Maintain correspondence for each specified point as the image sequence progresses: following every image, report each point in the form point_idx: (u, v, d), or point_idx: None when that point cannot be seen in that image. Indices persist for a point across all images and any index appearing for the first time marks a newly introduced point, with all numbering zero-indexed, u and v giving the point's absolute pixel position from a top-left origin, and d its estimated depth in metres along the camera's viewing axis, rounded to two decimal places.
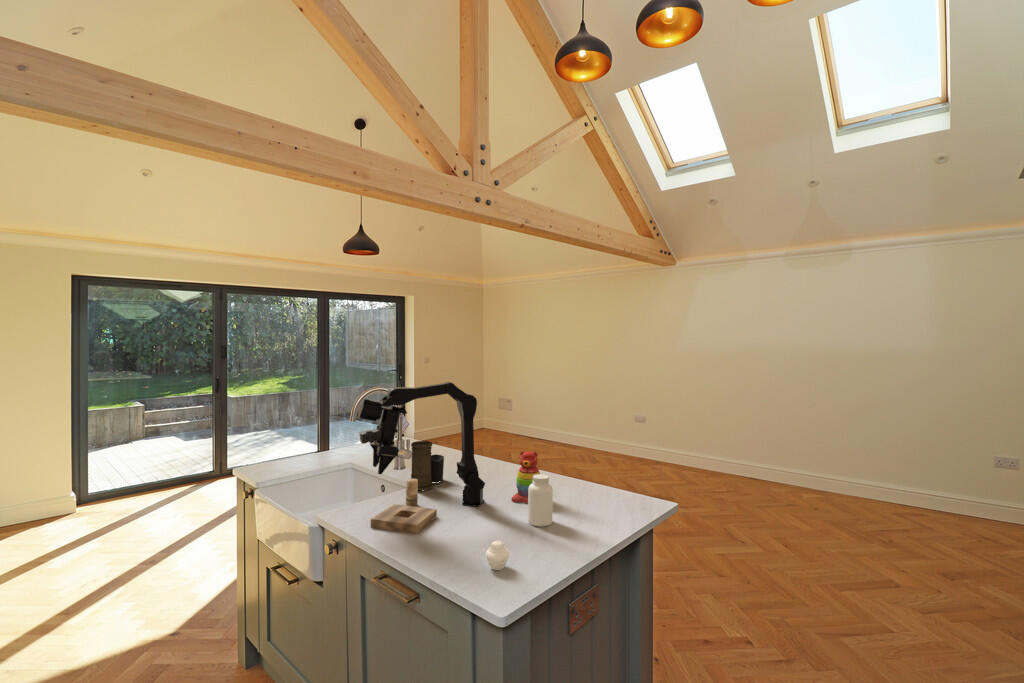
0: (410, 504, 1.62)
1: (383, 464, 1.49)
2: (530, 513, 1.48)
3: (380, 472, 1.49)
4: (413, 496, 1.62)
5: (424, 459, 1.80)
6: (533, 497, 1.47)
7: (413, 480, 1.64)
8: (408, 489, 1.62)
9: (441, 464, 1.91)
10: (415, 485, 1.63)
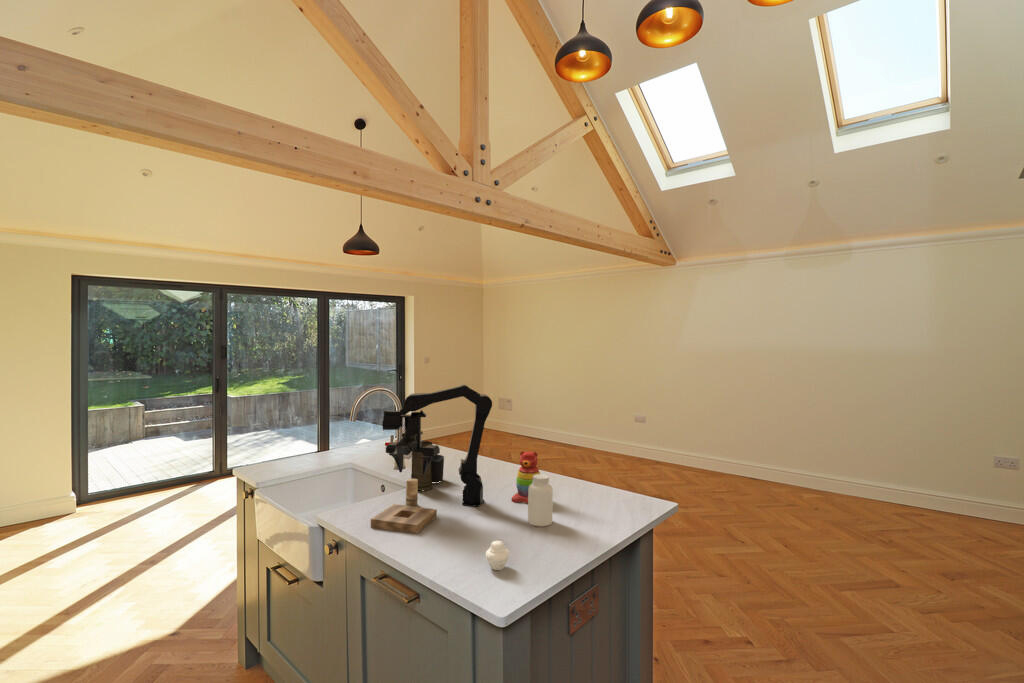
0: (410, 504, 1.62)
1: (427, 464, 1.62)
2: (530, 513, 1.48)
3: (425, 472, 1.63)
4: (413, 496, 1.62)
5: None
6: (533, 497, 1.47)
7: (413, 480, 1.64)
8: (408, 489, 1.62)
9: (441, 464, 1.91)
10: (415, 485, 1.63)
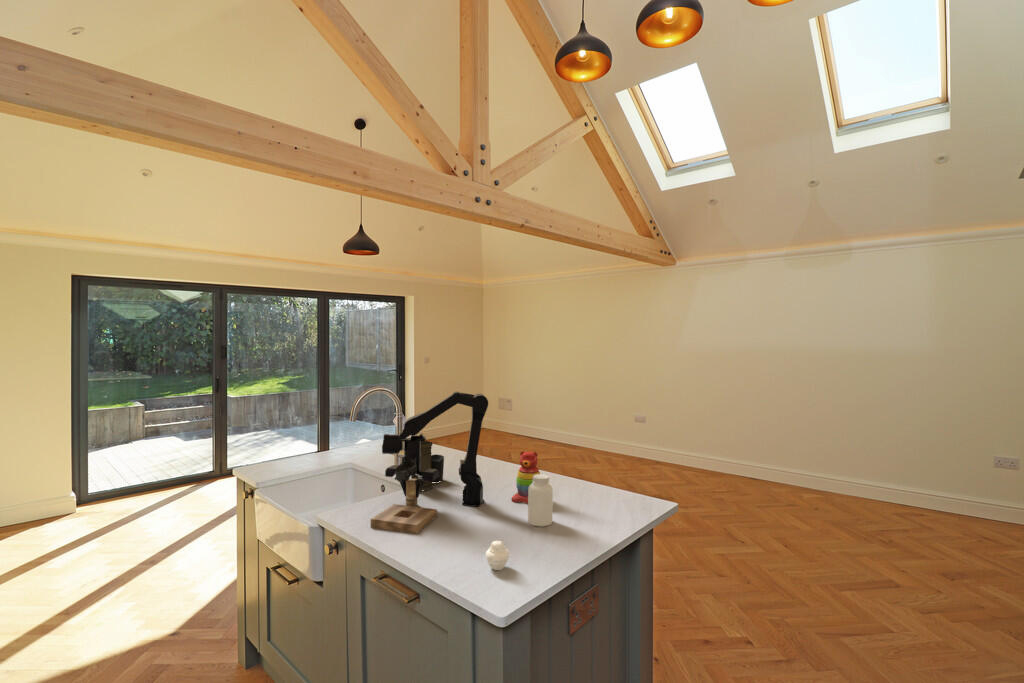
0: (410, 504, 1.62)
1: (420, 488, 1.63)
2: (530, 513, 1.48)
3: (418, 495, 1.63)
4: (413, 496, 1.62)
5: (424, 459, 1.80)
6: (533, 497, 1.47)
7: (413, 480, 1.64)
8: (408, 489, 1.62)
9: (441, 464, 1.91)
10: (415, 485, 1.63)
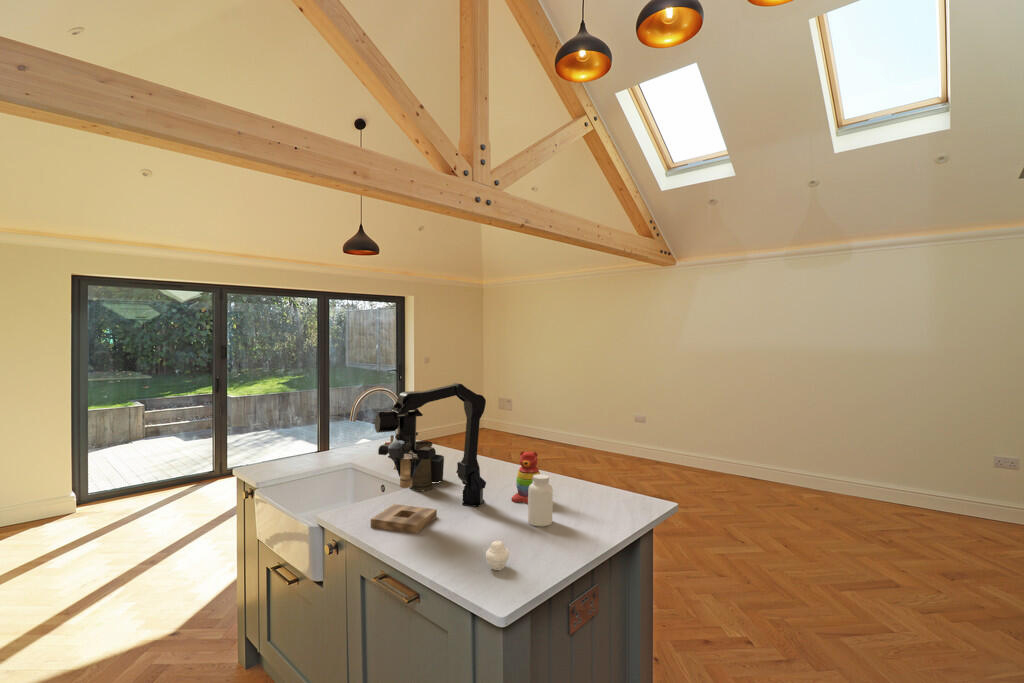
0: (404, 484, 1.51)
1: (415, 467, 1.52)
2: (530, 513, 1.48)
3: (413, 475, 1.53)
4: (408, 475, 1.52)
5: (424, 459, 1.80)
6: (533, 497, 1.47)
7: (407, 458, 1.53)
8: (402, 468, 1.52)
9: (441, 464, 1.91)
10: (410, 464, 1.52)
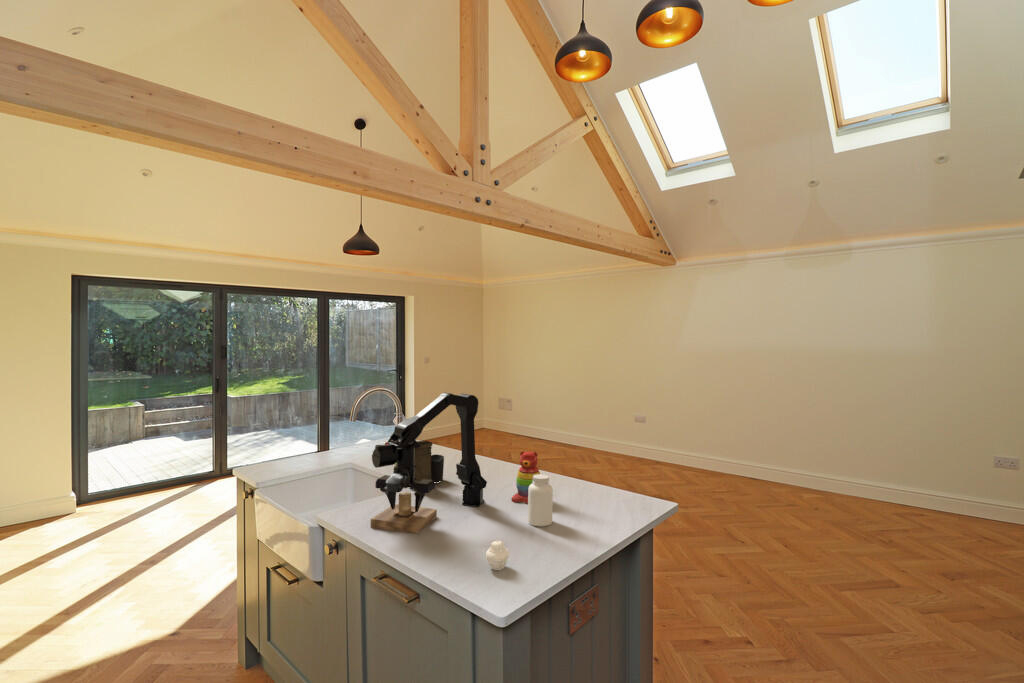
0: None
1: (420, 501, 1.48)
2: (530, 513, 1.48)
3: (417, 510, 1.48)
4: (406, 511, 1.47)
5: (424, 459, 1.80)
6: (533, 497, 1.47)
7: (406, 493, 1.49)
8: (401, 504, 1.47)
9: (441, 464, 1.91)
10: (408, 499, 1.48)
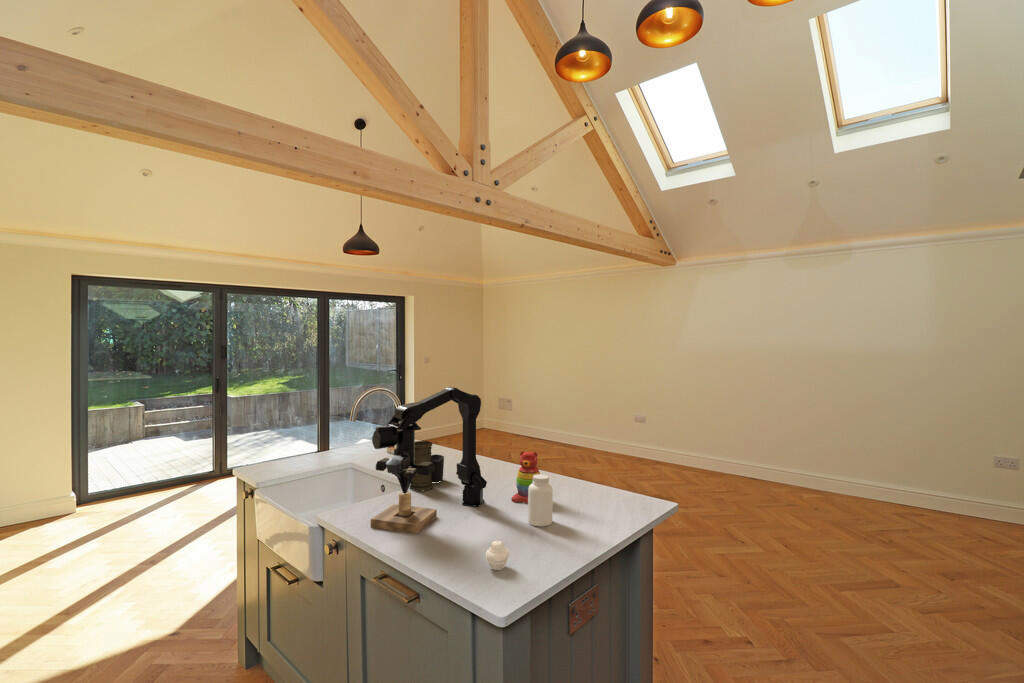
0: None
1: (409, 482, 1.49)
2: (530, 513, 1.48)
3: (406, 491, 1.49)
4: (406, 511, 1.47)
5: (424, 459, 1.80)
6: (533, 497, 1.47)
7: (406, 493, 1.49)
8: (401, 504, 1.47)
9: (441, 464, 1.91)
10: (408, 499, 1.48)
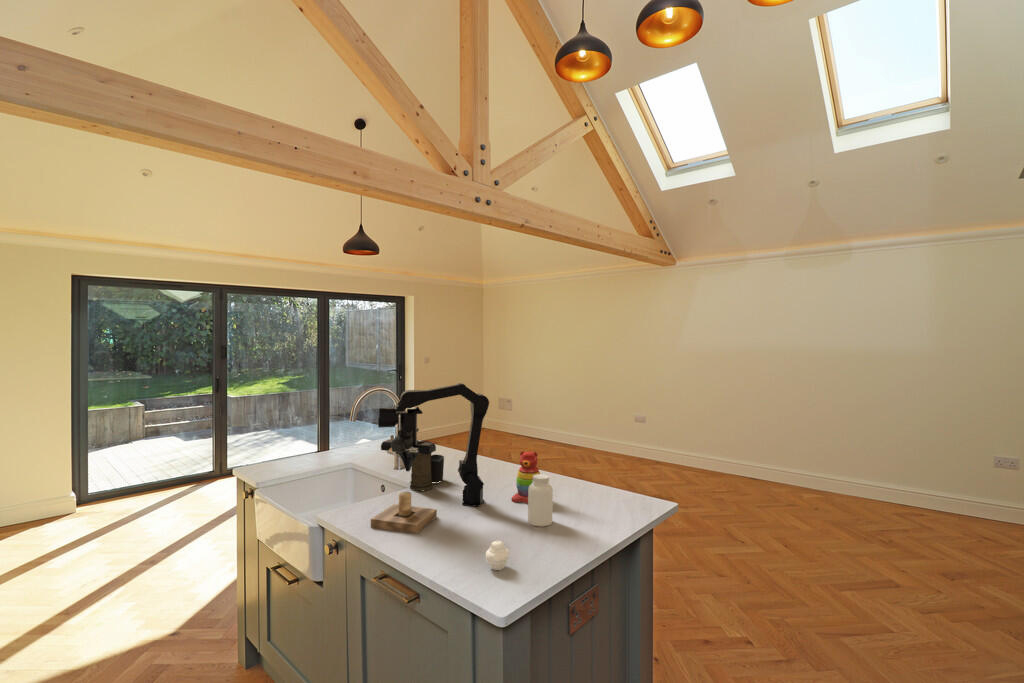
0: None
1: (411, 461, 1.61)
2: (530, 513, 1.48)
3: (409, 469, 1.61)
4: (406, 511, 1.47)
5: (424, 459, 1.80)
6: (533, 497, 1.47)
7: (406, 493, 1.49)
8: (401, 504, 1.47)
9: (441, 464, 1.91)
10: (408, 499, 1.48)
